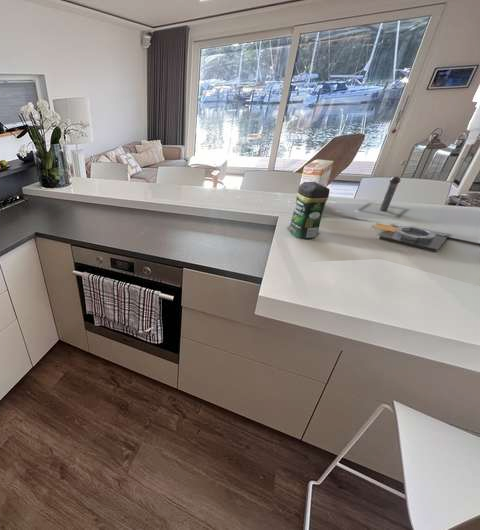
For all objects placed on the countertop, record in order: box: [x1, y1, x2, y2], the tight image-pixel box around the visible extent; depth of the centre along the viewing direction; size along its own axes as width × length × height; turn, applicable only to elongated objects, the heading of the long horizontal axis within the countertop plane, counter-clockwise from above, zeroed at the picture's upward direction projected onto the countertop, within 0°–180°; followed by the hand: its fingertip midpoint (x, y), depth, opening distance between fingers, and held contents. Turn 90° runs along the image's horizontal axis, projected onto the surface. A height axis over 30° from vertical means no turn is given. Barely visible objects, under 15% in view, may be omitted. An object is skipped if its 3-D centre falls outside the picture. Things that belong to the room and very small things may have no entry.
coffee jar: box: [288, 182, 330, 240], centre depth 100 cm, size 10×8×19 cm
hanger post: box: [378, 176, 401, 212], centre depth 112 cm, size 12×12×14 cm
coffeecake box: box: [299, 159, 334, 188], centre depth 120 cm, size 15×7×20 cm, turn 134°
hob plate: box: [379, 225, 449, 253], centre depth 96 cm, size 14×14×1 cm
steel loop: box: [374, 222, 437, 242], centre depth 97 cm, size 15×9×1 cm, turn 36°
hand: (472, 141), depth 96 cm, fingers open, 8 cm apart
